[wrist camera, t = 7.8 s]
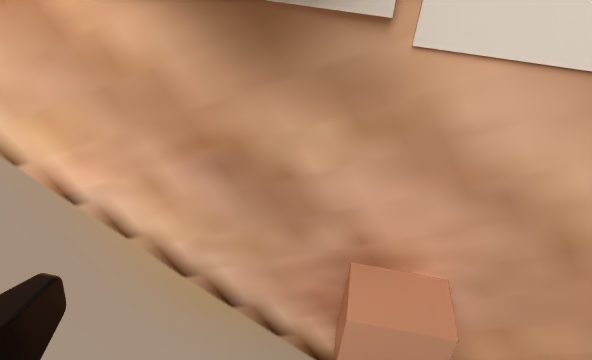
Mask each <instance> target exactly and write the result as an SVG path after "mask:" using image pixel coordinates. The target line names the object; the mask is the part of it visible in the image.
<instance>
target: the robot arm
mask: <svg viewBox="0 0 592 360" xmlns="http://www.w3.org/2000/svg"><path fill="white" fill-rule="evenodd" d="M65 309H66V298H65V293H64V287H63V282H62V279H61V278H60V277H58V276H55V275H50V274H46V273H41V274H38V275H35V276H33V277H32V278H30V279H28V280H26V281H24V282H22V283H20V284H19V285H17V286H15V287H13V288H12V289H9V290H7V291H6V292H4V293H2V294H0V360H40V359H41V357H42V355H43V353H44V351H45V350H46V347H47V346H48V344H49V342H50V340H51V338H52V336H53V334H54V332H55V330H56V328H57V326H58V324H59V322H60V321H61V319H62V317H63V315H64V312H65Z"/></svg>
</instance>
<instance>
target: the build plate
mask: <svg viewBox="0 0 592 360" xmlns="http://www.w3.org/2000/svg"><path fill="white" fill-rule="evenodd" d="M267 1H274V2H281V3H288V4H295V5H303V6H310V7H317V8H324V9H331V10H339V11H346V12H353V13H360V14H367V15H375V16H382V17H389V18H392V16H393V12H394V7H395V2H396V0H267Z"/></svg>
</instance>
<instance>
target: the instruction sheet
mask: <svg viewBox="0 0 592 360" xmlns="http://www.w3.org/2000/svg"><path fill="white" fill-rule="evenodd" d="M412 45H413V46H418V47H425V48H432V49H439V50H446V51H453V52H460V53H467V54H474V55H481V56H488V57H495V58H502V59H509V60H516V61H523V62H530V63H537V64H544V65H551V66H558V67H565V68H572V69H579V70H586V71H592V0H423V1H422V6H421V10H420V14H419V18H418V23H417V27H416V31H415V35H414V40H413V44H412Z"/></svg>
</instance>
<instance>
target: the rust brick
mask: <svg viewBox="0 0 592 360" xmlns="http://www.w3.org/2000/svg"><path fill="white" fill-rule="evenodd" d="M458 342H459V341H458V336H457V330H456V324H455V318H454V312H453V306H452V301H451V295H450V289H449V283H448V280H445V279H440V278H434V277H429V276H423V275H418V274H413V273H407V272H402V271H396V270H391V269H385V268H380V267H375V266H369V265H364V264H358V263H353V262H351V265H350V270H349V274H348V279H347V283H346V288H345V292H344V296H343V301H342V305H341V310H340V314H339V318H338V323H337V328H336V338H335V348H334V358H333V360H450V359H451V357H452V355H453V353H454V350H455V348H456V346H457V344H458Z"/></svg>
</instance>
